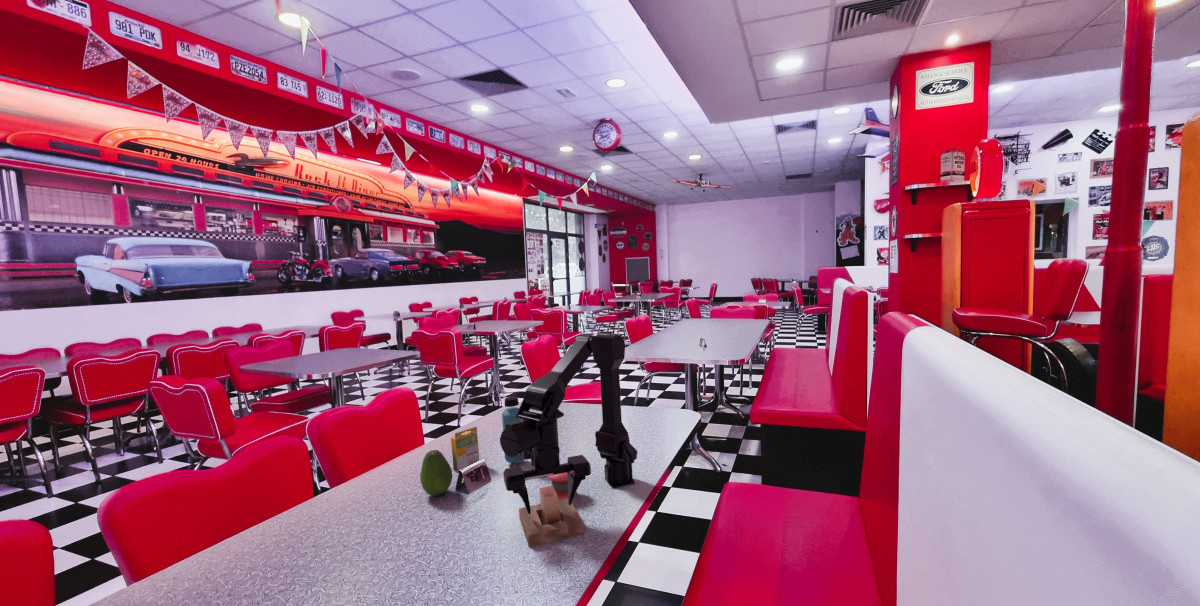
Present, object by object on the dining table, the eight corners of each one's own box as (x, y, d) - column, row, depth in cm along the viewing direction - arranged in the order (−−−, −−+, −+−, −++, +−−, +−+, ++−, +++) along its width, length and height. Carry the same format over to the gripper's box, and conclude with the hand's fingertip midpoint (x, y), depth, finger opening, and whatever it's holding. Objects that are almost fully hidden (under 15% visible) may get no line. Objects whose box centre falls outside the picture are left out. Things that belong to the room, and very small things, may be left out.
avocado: (415, 498, 123) (411, 453, 122) (437, 485, 130) (434, 442, 129) (438, 504, 119) (434, 457, 118) (460, 490, 126) (457, 446, 125)
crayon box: (475, 461, 145) (472, 424, 144) (480, 464, 143) (477, 426, 142) (452, 469, 140) (449, 431, 139) (457, 472, 137) (454, 433, 136)
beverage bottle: (522, 468, 138) (518, 401, 136) (501, 467, 139) (496, 400, 138) (530, 459, 144) (526, 394, 143) (509, 458, 146) (505, 394, 144)
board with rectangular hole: (569, 507, 114) (568, 497, 114) (583, 533, 103) (583, 522, 102) (519, 518, 110) (518, 508, 110) (528, 547, 99) (528, 535, 99)
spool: (572, 486, 125) (570, 464, 124) (579, 498, 118) (578, 475, 118) (546, 491, 123) (544, 469, 122) (552, 504, 116) (550, 480, 116)
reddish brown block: (554, 519, 109) (552, 485, 109) (559, 530, 104) (557, 495, 104) (541, 521, 108) (539, 488, 108) (546, 533, 104) (543, 498, 103)
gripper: (576, 423, 115) (579, 485, 117) (498, 436, 109) (502, 501, 111) (589, 438, 105) (593, 506, 106) (504, 453, 99) (509, 525, 100)
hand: (549, 508), depth 106 cm, fingers open, 9 cm apart
